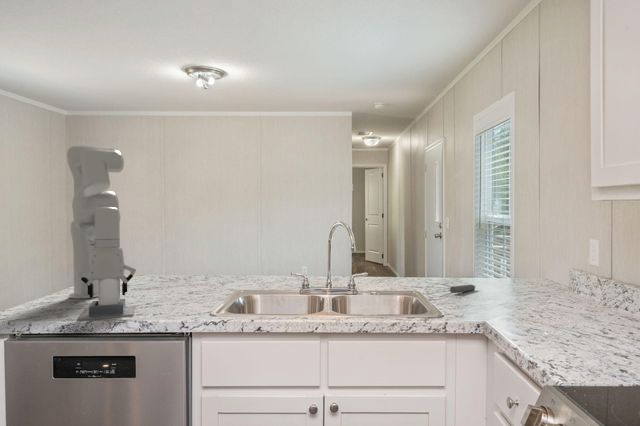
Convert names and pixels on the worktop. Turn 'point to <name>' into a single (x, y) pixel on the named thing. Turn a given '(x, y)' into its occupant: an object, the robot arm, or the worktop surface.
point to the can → (109, 291)
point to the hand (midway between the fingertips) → (107, 295)
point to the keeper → (106, 311)
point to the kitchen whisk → (454, 289)
